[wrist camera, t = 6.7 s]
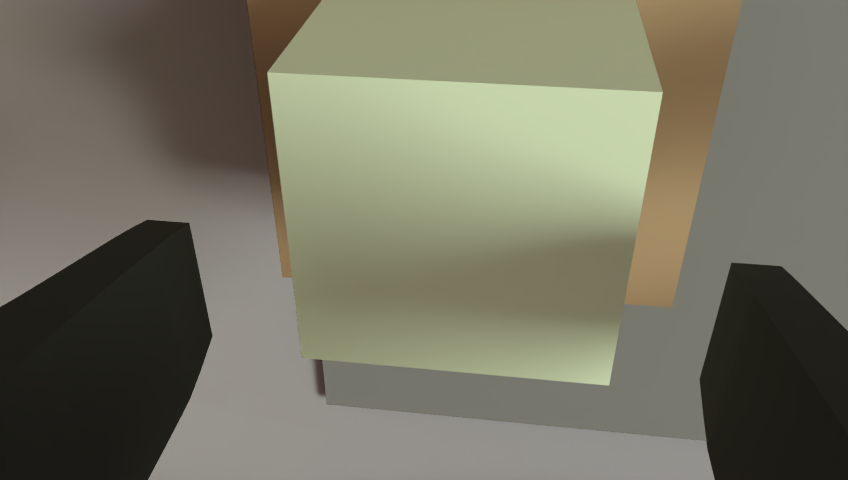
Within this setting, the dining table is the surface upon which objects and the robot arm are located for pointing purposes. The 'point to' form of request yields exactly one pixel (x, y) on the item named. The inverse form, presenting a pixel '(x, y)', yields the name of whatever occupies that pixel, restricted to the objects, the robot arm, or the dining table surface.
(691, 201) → the walnut base block
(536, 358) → the sage cube
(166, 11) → the dining table surface
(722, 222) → the building mat
